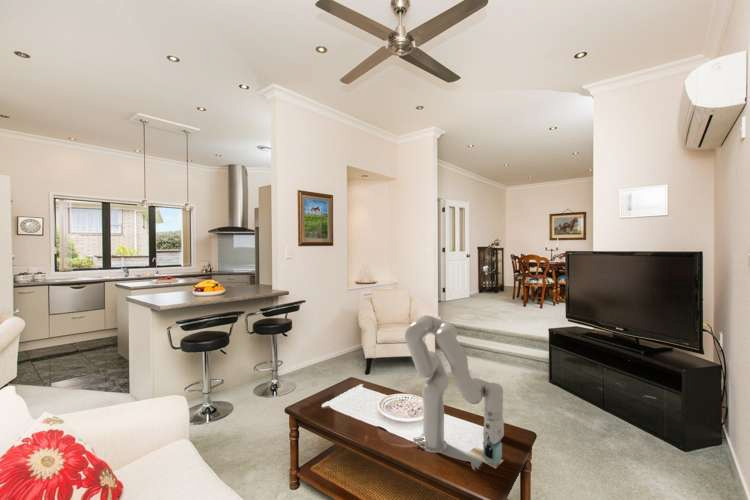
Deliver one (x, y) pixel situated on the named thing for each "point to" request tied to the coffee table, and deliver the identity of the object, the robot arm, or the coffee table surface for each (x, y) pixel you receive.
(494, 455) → the mint green cube
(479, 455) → the board
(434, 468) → the coffee table surface
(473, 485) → the coffee table surface
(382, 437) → the coffee table surface
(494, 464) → the post
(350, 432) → the coffee table surface
